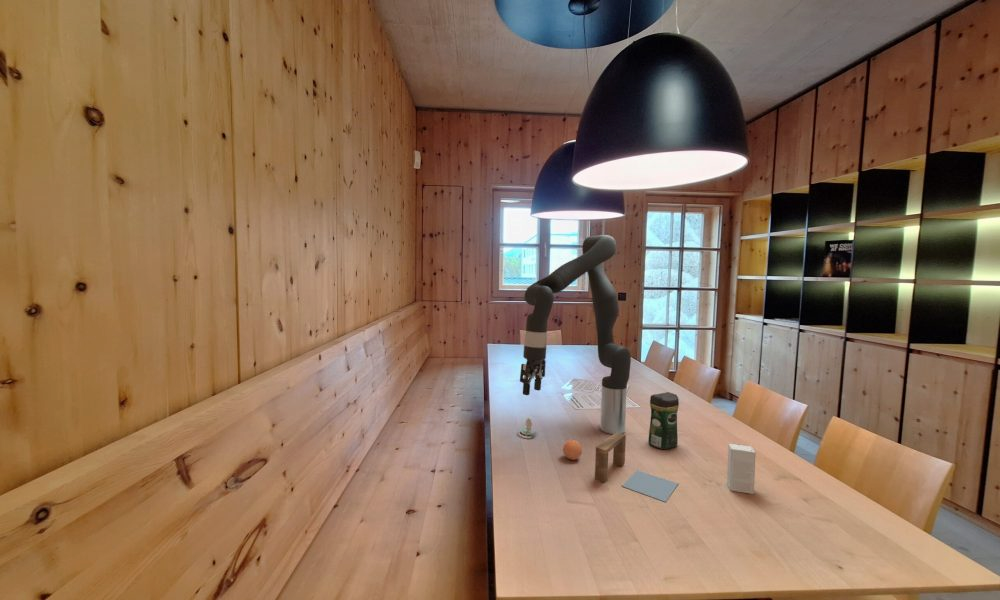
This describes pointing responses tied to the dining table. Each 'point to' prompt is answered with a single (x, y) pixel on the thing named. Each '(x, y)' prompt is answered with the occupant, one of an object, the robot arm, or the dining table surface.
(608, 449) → the bridge
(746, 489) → the skincare box
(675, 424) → the coffee jar
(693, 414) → the dining table surface
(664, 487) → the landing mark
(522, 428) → the pacifier
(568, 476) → the dining table surface
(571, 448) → the ball
